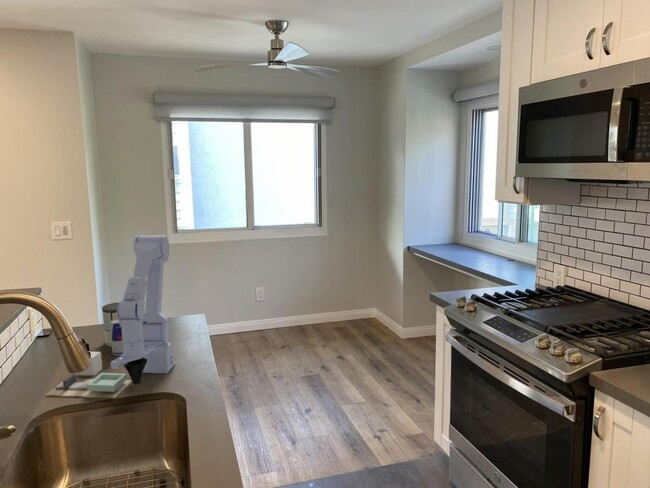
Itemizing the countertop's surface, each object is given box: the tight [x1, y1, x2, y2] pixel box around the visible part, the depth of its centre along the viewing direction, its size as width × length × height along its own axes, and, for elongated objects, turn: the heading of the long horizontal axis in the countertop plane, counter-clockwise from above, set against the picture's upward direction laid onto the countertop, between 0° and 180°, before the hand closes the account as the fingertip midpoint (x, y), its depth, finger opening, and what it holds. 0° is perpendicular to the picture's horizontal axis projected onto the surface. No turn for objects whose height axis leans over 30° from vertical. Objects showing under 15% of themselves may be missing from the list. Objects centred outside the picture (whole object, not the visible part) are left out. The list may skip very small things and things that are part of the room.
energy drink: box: [110, 319, 124, 357], centre depth 176 cm, size 5×5×12 cm
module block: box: [78, 351, 103, 377], centre depth 161 cm, size 5×5×6 cm
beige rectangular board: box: [45, 373, 133, 399], centre depth 150 cm, size 21×11×3 cm, turn 85°
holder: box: [87, 372, 128, 392], centre depth 149 cm, size 8×8×2 cm
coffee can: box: [101, 301, 120, 347], centre depth 187 cm, size 10×10×14 cm
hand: (136, 383), depth 148 cm, fingers closed
